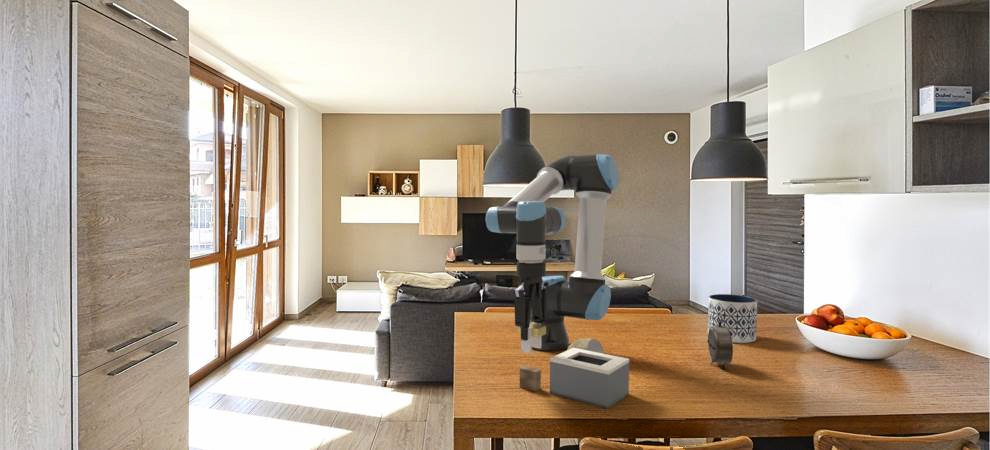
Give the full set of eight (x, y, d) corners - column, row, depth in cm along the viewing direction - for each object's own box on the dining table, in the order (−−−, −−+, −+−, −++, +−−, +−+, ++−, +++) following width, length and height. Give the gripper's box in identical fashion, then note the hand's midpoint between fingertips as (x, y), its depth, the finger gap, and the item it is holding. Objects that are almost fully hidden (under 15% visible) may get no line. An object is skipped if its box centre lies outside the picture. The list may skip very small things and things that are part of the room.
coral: (592, 354, 141) (567, 332, 148) (582, 382, 145) (559, 360, 152) (615, 345, 147) (590, 325, 154) (605, 373, 151) (581, 352, 158)
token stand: (519, 386, 135) (519, 368, 135) (524, 384, 137) (524, 365, 136) (535, 391, 132) (535, 372, 132) (540, 388, 134) (540, 369, 133)
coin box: (549, 393, 131) (550, 358, 130) (572, 380, 140) (573, 347, 140) (608, 408, 121) (608, 371, 120) (628, 393, 130) (629, 358, 130)
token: (516, 333, 134) (516, 325, 134) (525, 329, 138) (525, 321, 137) (537, 337, 130) (537, 329, 130) (546, 333, 134) (546, 325, 133)
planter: (702, 331, 194) (703, 293, 193) (747, 333, 192) (748, 294, 191) (714, 342, 178) (715, 301, 178) (763, 344, 176) (764, 303, 175)
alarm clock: (733, 372, 147) (734, 316, 146) (713, 371, 148) (714, 315, 147) (723, 360, 158) (724, 308, 157) (704, 359, 159) (705, 307, 158)
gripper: (524, 266, 124) (524, 361, 125) (560, 258, 137) (560, 344, 139) (499, 263, 128) (500, 355, 130) (536, 256, 142) (537, 339, 143)
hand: (531, 349), depth 134 cm, fingers closed on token, 4 cm apart
